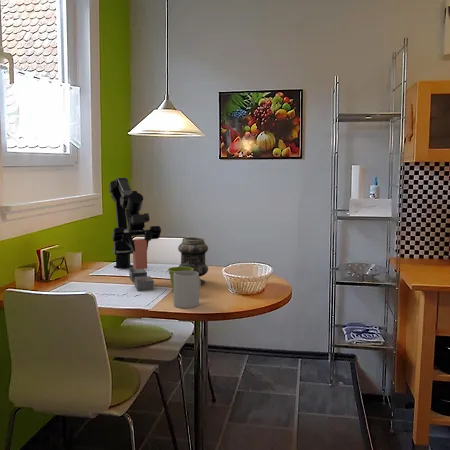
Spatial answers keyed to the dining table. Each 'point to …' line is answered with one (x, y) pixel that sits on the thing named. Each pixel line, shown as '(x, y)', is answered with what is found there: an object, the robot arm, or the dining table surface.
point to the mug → (186, 289)
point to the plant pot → (175, 269)
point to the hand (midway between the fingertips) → (140, 250)
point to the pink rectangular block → (140, 254)
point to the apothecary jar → (194, 255)
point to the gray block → (141, 279)
